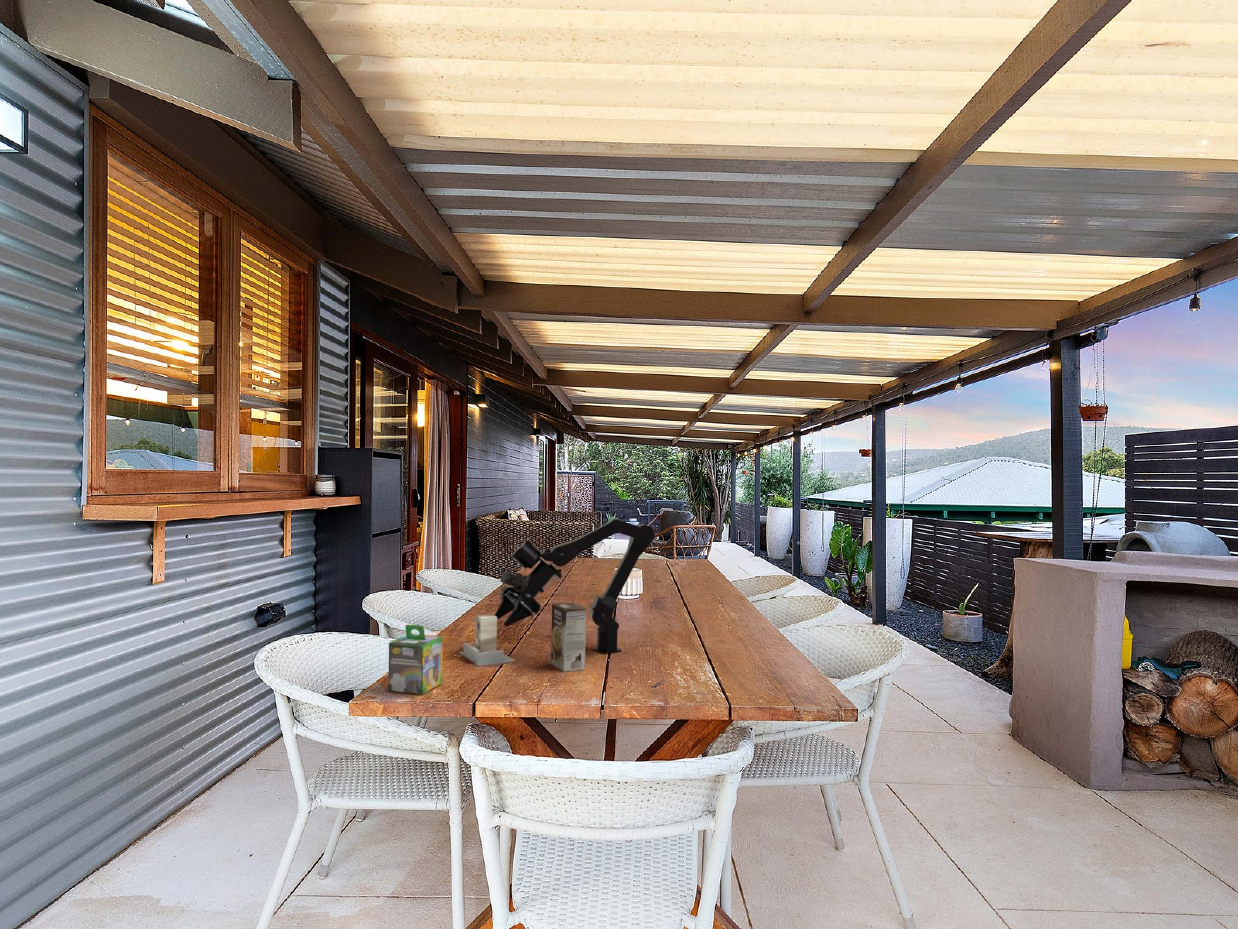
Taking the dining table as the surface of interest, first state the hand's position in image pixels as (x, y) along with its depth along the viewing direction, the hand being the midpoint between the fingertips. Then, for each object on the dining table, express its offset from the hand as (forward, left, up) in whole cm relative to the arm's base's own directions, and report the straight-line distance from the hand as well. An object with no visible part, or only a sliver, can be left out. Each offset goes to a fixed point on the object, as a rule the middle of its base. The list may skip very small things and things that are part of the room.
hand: (499, 622), depth 188 cm
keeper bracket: (0, +4, -9) cm, 10 cm away
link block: (0, +4, -9) cm, 10 cm away
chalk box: (-18, +28, -10) cm, 35 cm away
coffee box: (-18, -12, -10) cm, 24 cm away
